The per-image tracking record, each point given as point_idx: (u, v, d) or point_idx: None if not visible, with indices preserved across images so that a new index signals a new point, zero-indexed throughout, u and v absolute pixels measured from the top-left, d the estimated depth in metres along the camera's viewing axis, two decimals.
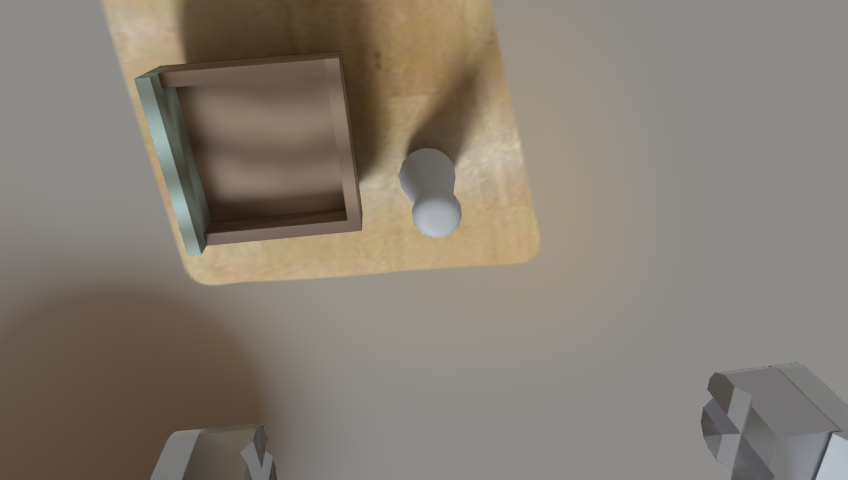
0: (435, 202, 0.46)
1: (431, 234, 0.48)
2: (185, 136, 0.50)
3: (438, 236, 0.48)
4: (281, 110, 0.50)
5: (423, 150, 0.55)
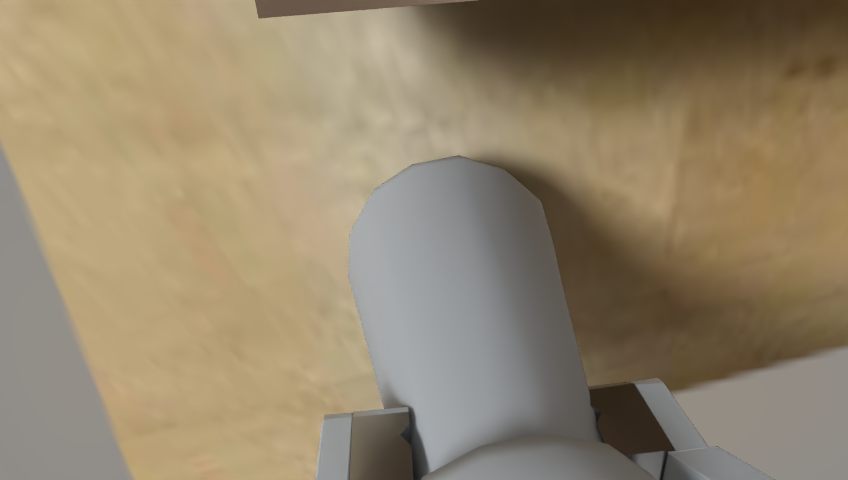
0: None
1: None
2: None
3: None
4: None
5: (553, 245, 0.15)
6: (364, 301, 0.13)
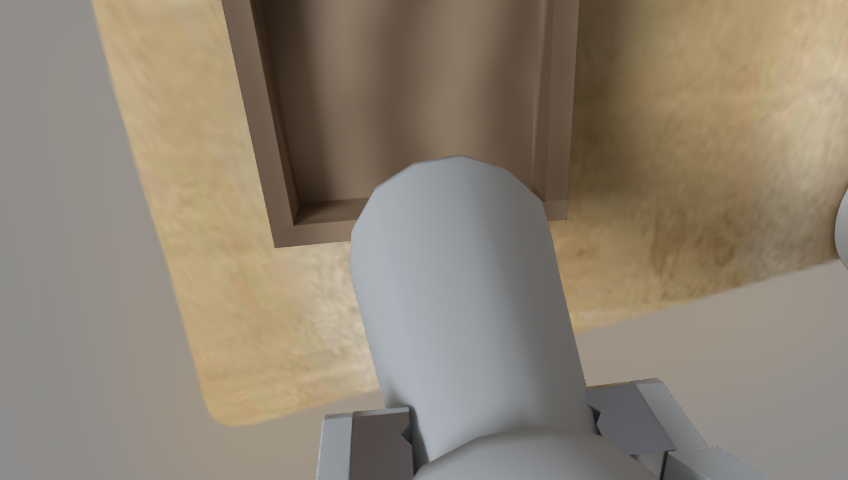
0: None
1: None
2: None
3: None
4: (472, 105, 0.30)
5: None
6: (365, 297, 0.13)
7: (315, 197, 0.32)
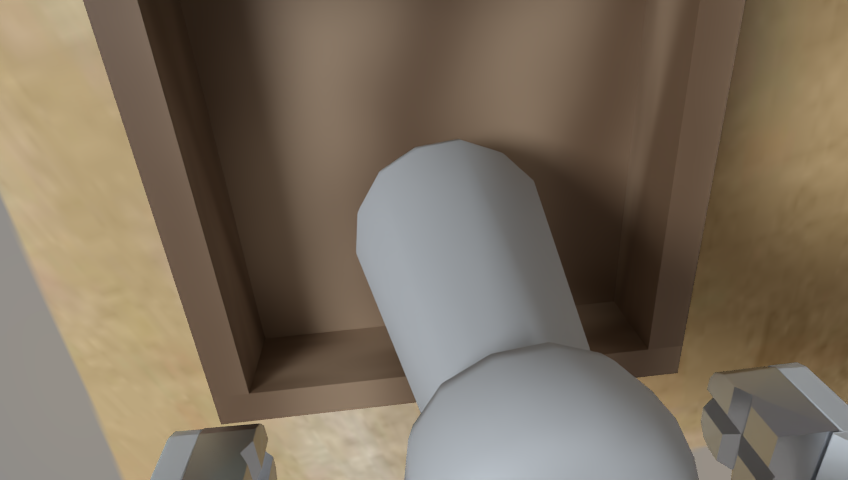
0: None
1: None
2: None
3: None
4: None
5: None
6: (374, 268, 0.14)
7: (288, 329, 0.21)
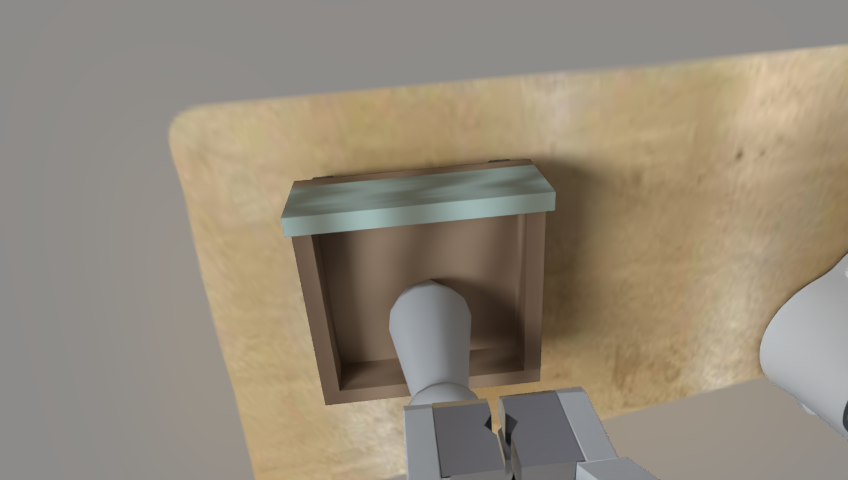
0: None
1: None
2: None
3: None
4: (470, 298, 0.41)
5: None
6: (397, 342, 0.36)
7: (353, 359, 0.42)
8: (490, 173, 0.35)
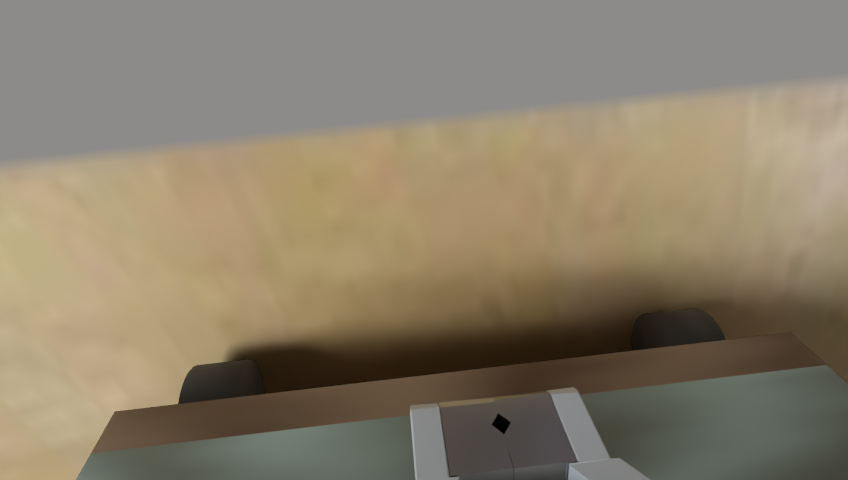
0: None
1: None
2: None
3: None
4: None
5: None
6: None
7: None
8: (709, 406, 0.11)
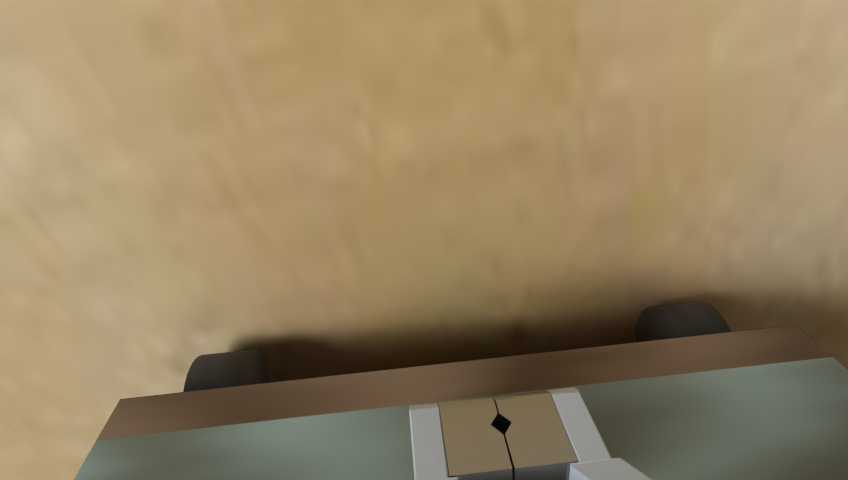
0: None
1: None
2: None
3: None
4: None
5: None
6: None
7: None
8: (716, 396, 0.11)
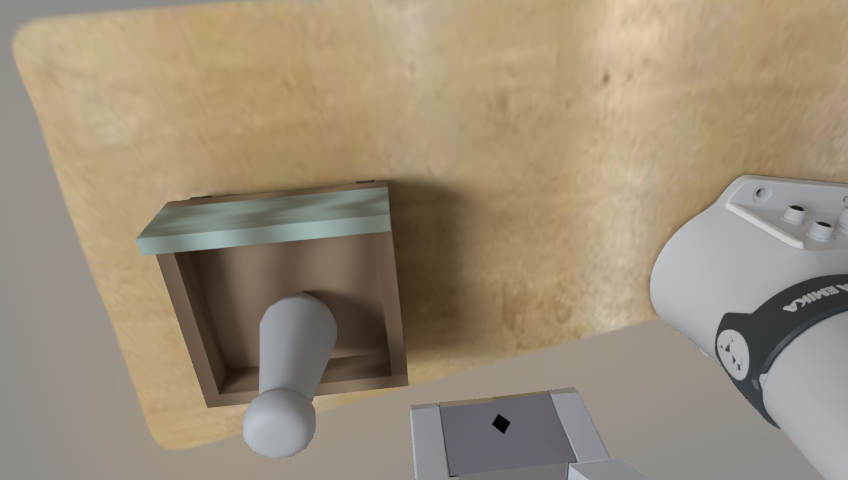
0: (302, 433, 0.32)
1: (249, 431, 0.32)
2: None
3: (246, 438, 0.32)
4: (343, 308, 0.44)
5: (335, 327, 0.41)
6: None
7: (238, 365, 0.45)
8: (343, 194, 0.39)
